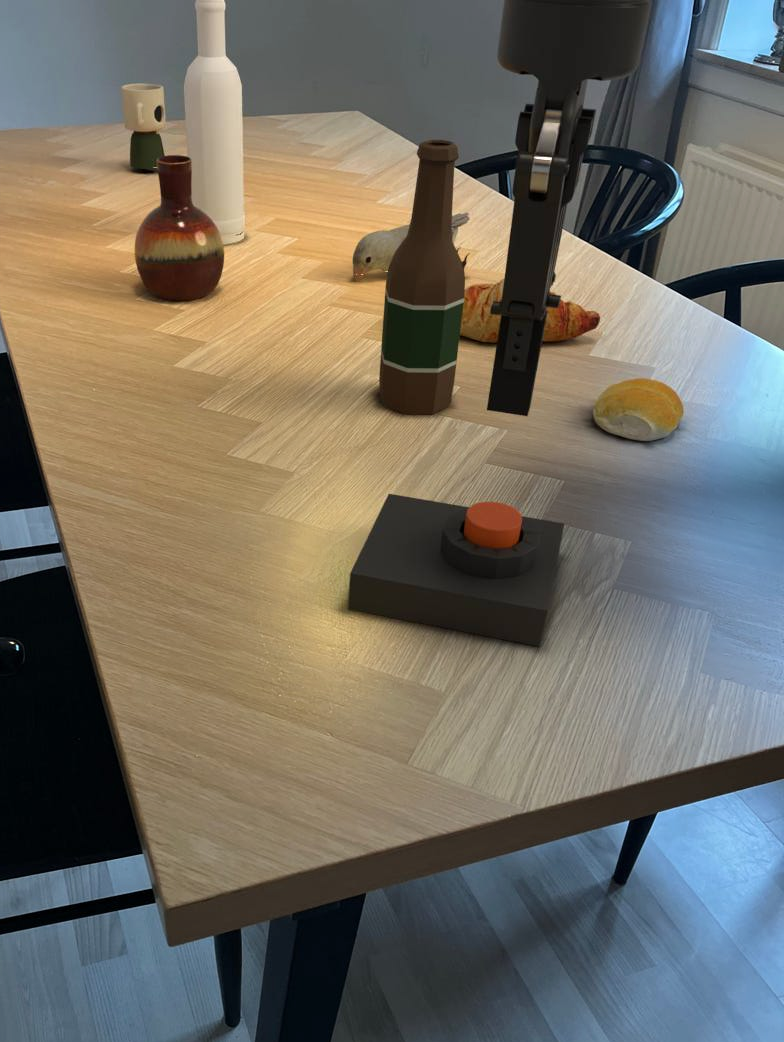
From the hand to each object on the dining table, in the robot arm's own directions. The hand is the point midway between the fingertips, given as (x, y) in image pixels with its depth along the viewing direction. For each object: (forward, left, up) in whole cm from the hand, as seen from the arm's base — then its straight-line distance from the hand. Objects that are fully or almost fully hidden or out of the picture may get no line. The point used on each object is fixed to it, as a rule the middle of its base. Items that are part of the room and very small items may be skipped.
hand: (508, 408), depth 65 cm
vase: (+47, -53, -15) cm, 72 cm away
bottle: (+51, -76, -15) cm, 93 cm away
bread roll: (-10, -33, -15) cm, 38 cm away
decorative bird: (+21, -69, -15) cm, 74 cm away
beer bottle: (+12, -31, -15) cm, 36 cm away
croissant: (+6, -53, -15) cm, 55 cm away
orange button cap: (0, 0, -10) cm, 10 cm away
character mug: (+77, -109, -15) cm, 134 cm away
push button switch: (+2, 0, -15) cm, 15 cm away
